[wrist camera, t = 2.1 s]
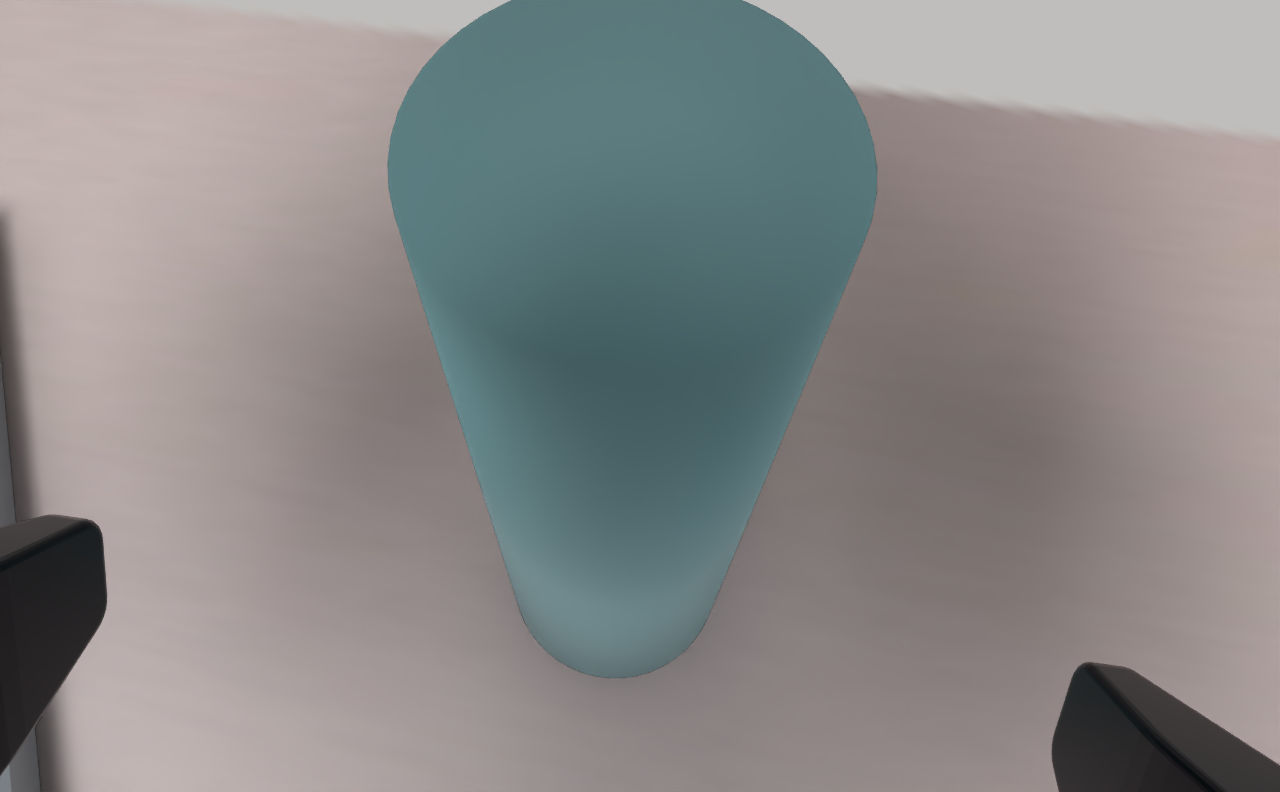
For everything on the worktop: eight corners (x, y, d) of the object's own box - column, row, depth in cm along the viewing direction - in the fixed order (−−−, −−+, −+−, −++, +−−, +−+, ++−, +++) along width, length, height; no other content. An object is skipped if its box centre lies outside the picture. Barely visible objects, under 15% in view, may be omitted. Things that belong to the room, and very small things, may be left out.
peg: (746, 638, 19) (962, 286, 8) (549, 707, 19) (460, 437, 7) (675, 457, 21) (765, -63, 9) (491, 515, 20) (340, 33, 9)
